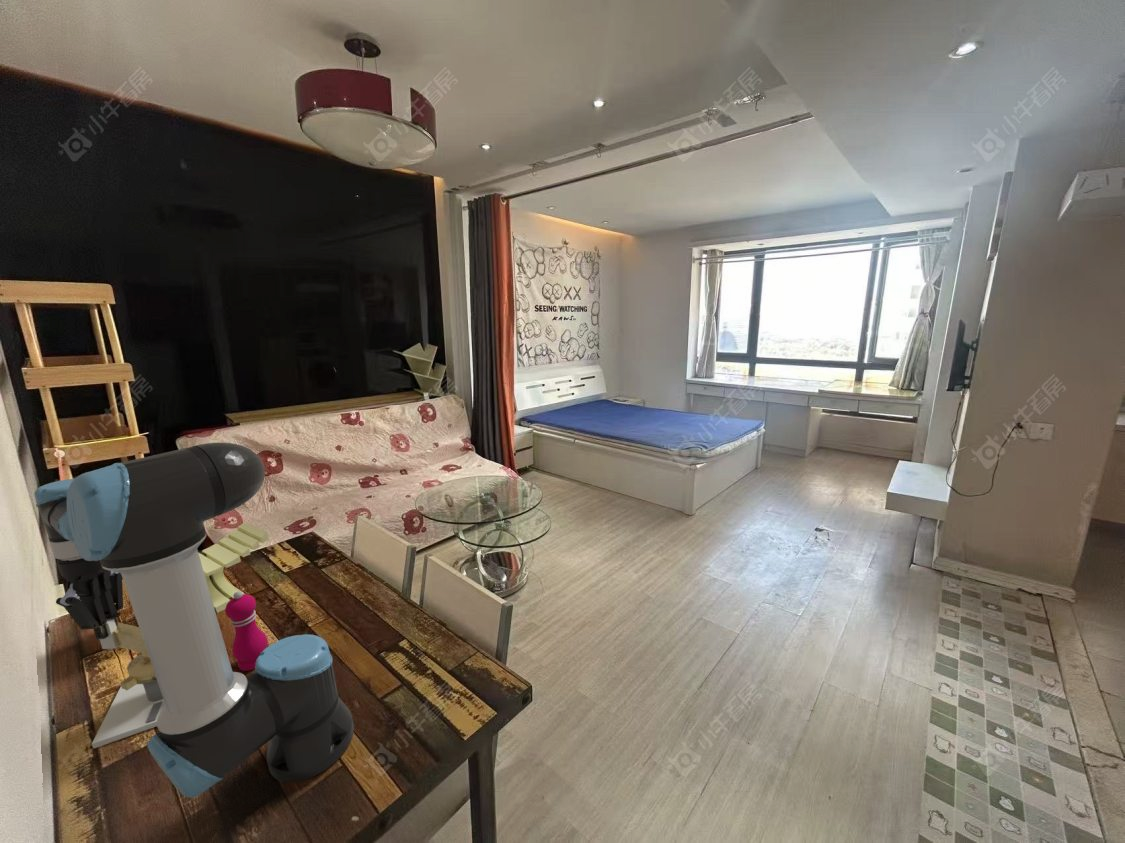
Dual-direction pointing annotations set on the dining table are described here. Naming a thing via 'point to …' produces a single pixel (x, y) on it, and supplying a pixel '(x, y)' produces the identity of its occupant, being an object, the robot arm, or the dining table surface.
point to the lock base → (131, 713)
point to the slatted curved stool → (228, 561)
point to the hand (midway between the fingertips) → (112, 646)
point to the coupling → (141, 664)
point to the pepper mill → (245, 630)
